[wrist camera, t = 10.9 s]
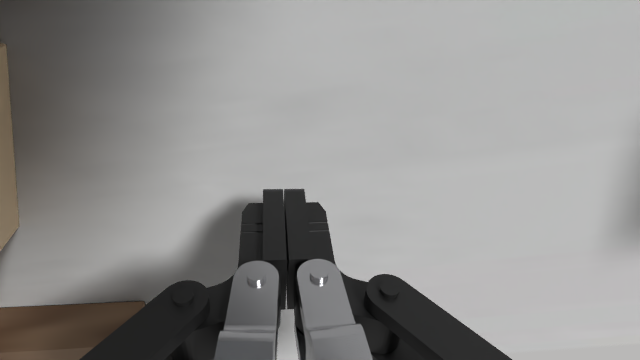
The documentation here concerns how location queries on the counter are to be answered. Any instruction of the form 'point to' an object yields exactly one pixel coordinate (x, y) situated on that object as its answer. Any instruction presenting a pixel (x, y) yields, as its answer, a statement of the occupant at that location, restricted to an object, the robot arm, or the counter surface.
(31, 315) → the brown wooden u-shaped piece
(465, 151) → the counter surface
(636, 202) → the counter surface
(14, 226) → the kraft carton
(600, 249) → the counter surface
